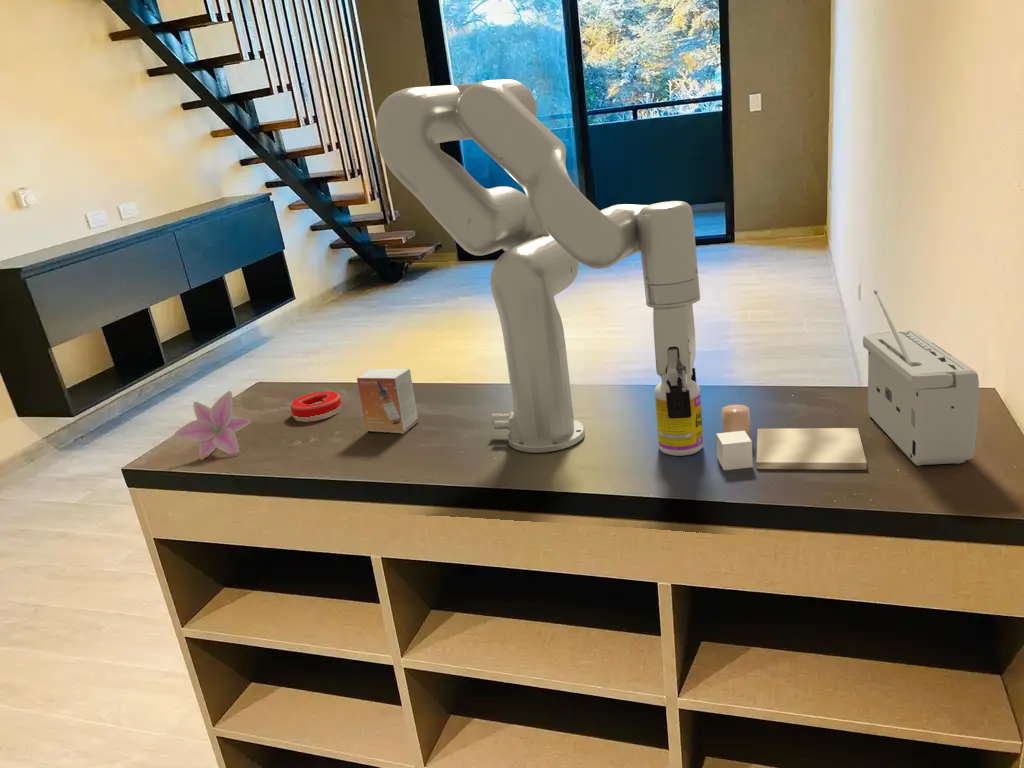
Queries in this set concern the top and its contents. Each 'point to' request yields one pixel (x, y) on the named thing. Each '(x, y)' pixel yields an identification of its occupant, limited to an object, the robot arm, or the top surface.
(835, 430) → the ash board
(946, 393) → the stereo radio cassette player
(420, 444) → the top surface
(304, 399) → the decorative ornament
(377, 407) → the small box
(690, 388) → the supplement bottle
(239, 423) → the lily
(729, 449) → the off-white block
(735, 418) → the peach rounded capsule
